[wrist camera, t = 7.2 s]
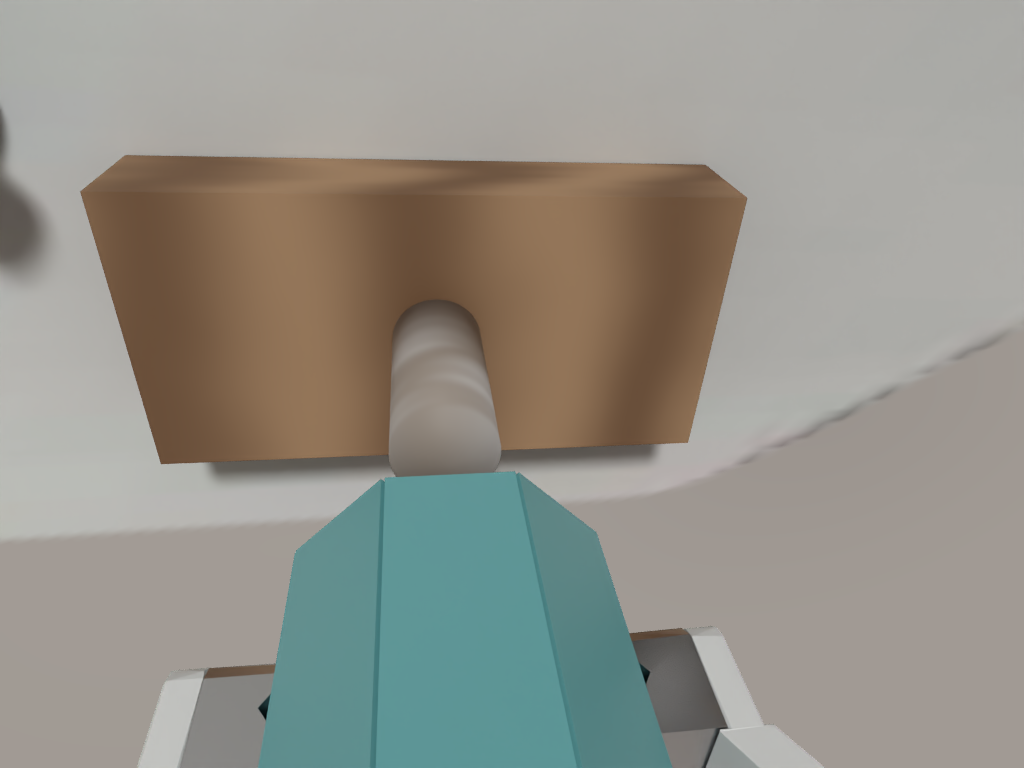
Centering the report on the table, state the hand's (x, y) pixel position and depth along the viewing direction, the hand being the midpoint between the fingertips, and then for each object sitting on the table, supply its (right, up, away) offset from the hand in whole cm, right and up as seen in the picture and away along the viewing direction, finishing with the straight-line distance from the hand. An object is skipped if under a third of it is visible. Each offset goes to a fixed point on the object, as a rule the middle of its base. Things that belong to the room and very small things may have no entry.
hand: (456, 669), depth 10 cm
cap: (0, +1, +1) cm, 2 cm away
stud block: (-2, +7, +11) cm, 13 cm away
